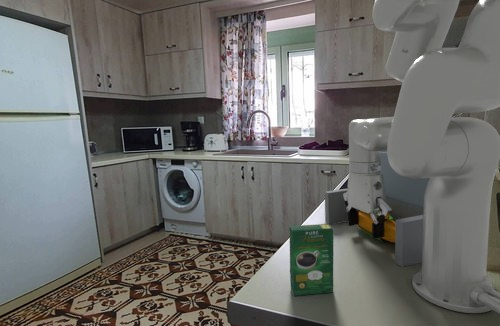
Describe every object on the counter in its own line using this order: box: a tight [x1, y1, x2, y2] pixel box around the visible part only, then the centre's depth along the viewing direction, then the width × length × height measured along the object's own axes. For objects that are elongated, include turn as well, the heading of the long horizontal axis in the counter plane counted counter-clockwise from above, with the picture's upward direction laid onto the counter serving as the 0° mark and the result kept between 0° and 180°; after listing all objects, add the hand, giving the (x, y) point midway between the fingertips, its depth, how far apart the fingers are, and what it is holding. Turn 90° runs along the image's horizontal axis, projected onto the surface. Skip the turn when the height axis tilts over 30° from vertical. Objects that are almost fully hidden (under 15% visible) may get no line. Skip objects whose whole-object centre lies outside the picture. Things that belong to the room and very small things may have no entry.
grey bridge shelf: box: [324, 187, 423, 268], centre depth 79 cm, size 31×12×10 cm, turn 17°
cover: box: [380, 151, 430, 207], centre depth 80 cm, size 31×12×1 cm
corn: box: [357, 209, 396, 244], centre depth 78 cm, size 7×8×20 cm
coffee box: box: [289, 223, 335, 297], centre depth 56 cm, size 8×3×13 cm, turn 93°
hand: (365, 231), depth 78 cm, fingers open, 9 cm apart
